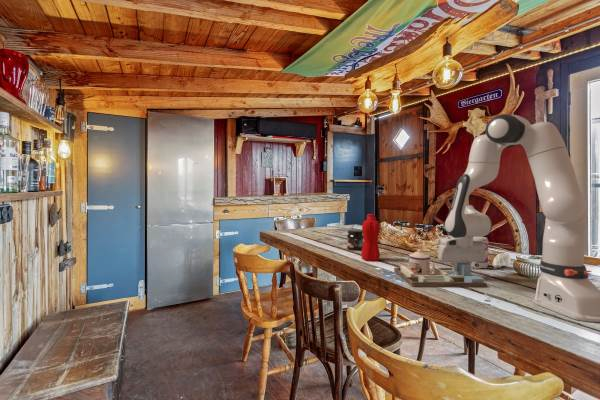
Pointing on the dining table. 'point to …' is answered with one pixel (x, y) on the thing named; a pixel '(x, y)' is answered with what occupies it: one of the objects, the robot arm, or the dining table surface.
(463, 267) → the carriage
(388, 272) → the dining table surface
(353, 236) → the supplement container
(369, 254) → the water bottle
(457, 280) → the lane rails
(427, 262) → the teacup with lid
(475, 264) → the supplement can
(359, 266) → the dining table surface
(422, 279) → the broken carriage
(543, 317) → the dining table surface
